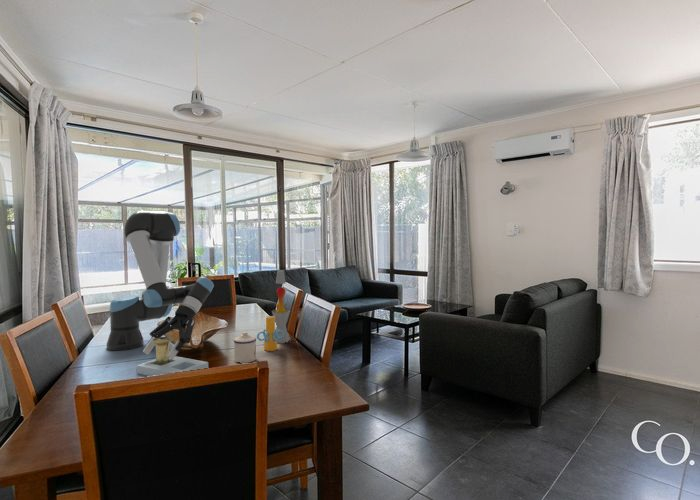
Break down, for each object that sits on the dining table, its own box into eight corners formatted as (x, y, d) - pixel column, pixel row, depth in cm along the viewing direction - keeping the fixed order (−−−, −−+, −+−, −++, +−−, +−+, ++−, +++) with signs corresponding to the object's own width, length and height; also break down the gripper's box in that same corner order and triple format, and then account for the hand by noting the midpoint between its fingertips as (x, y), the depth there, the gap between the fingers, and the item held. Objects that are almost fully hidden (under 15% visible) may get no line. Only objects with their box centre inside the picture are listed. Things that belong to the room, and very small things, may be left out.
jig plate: (136, 373, 144) (136, 365, 144) (168, 362, 157) (168, 354, 157) (178, 382, 135) (178, 374, 135) (208, 369, 148) (208, 362, 148)
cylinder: (276, 354, 167) (276, 320, 167) (254, 352, 170) (253, 319, 169) (286, 346, 179) (286, 314, 179) (265, 345, 182) (265, 313, 181)
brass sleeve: (150, 370, 147) (149, 340, 146) (164, 365, 153) (163, 336, 152) (161, 373, 144) (161, 341, 144) (175, 368, 150) (174, 337, 150)
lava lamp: (293, 341, 188) (293, 270, 186) (276, 344, 183) (275, 271, 181) (285, 337, 195) (285, 269, 194) (269, 340, 190) (268, 270, 189)
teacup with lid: (259, 360, 159) (259, 333, 158) (238, 365, 153) (238, 336, 153) (249, 353, 168) (248, 327, 168) (228, 357, 163) (228, 330, 163)
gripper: (215, 317, 157) (186, 364, 143) (172, 312, 167) (141, 356, 154) (205, 306, 152) (174, 354, 138) (161, 302, 162) (129, 346, 149)
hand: (157, 355), depth 146 cm, fingers open, 13 cm apart
